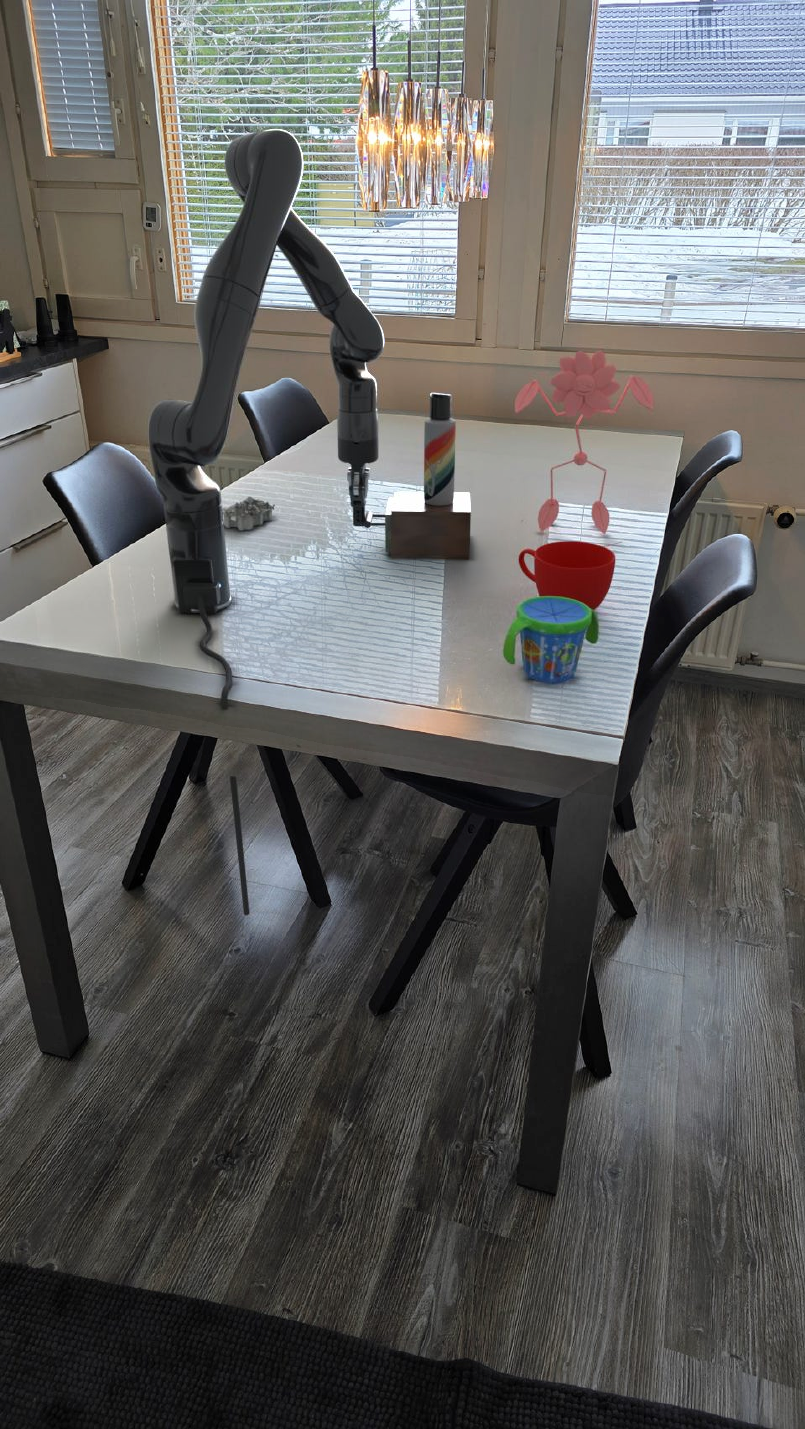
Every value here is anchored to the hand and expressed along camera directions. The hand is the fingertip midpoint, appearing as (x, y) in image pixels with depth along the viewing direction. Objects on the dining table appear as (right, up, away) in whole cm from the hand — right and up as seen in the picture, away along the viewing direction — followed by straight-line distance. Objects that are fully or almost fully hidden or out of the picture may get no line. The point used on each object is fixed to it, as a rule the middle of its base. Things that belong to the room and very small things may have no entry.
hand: (359, 525), depth 192 cm
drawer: (+10, -3, +1) cm, 11 cm away
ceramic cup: (+35, -19, -25) cm, 46 cm away
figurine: (+42, -1, +7) cm, 43 cm away
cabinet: (+14, -4, +1) cm, 14 cm away
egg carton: (-24, +3, +15) cm, 28 cm away
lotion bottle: (+15, +4, -3) cm, 16 cm away
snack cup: (+30, -30, -45) cm, 62 cm away
